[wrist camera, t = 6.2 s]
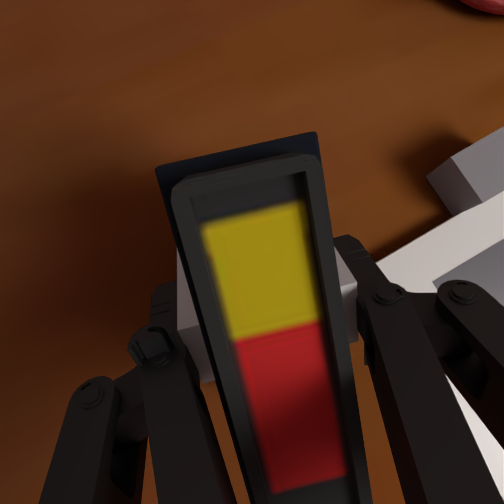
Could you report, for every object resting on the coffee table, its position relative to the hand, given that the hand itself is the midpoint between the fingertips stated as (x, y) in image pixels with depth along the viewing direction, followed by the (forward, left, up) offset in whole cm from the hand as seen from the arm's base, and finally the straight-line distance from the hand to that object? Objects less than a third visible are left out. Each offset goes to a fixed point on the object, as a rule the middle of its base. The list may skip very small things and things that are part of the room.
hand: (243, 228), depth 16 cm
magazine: (+4, -1, -6) cm, 7 cm away
